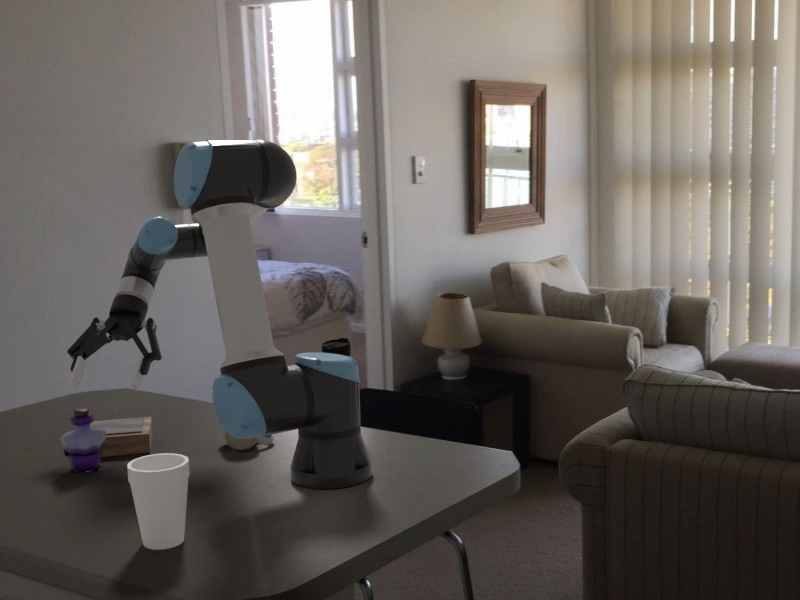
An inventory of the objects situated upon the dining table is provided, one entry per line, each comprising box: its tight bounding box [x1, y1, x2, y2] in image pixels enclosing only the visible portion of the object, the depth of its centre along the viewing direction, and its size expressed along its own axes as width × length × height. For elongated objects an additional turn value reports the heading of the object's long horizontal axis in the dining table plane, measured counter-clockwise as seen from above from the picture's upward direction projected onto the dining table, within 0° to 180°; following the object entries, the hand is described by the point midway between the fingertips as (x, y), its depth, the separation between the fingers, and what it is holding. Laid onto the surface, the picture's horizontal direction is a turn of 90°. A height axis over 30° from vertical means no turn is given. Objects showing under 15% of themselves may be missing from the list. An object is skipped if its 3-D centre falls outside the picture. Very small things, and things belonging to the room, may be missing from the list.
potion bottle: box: [60, 407, 106, 474], centre depth 195 cm, size 9×9×12 cm
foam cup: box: [127, 452, 191, 551], centre depth 156 cm, size 10×9×13 cm
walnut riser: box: [90, 416, 154, 458], centre depth 210 cm, size 14×14×4 cm
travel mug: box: [321, 337, 352, 358], centre depth 215 cm, size 6×7×20 cm
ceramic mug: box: [219, 421, 275, 452], centre depth 207 cm, size 11×8×8 cm
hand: (103, 387), depth 204 cm, fingers open, 13 cm apart
